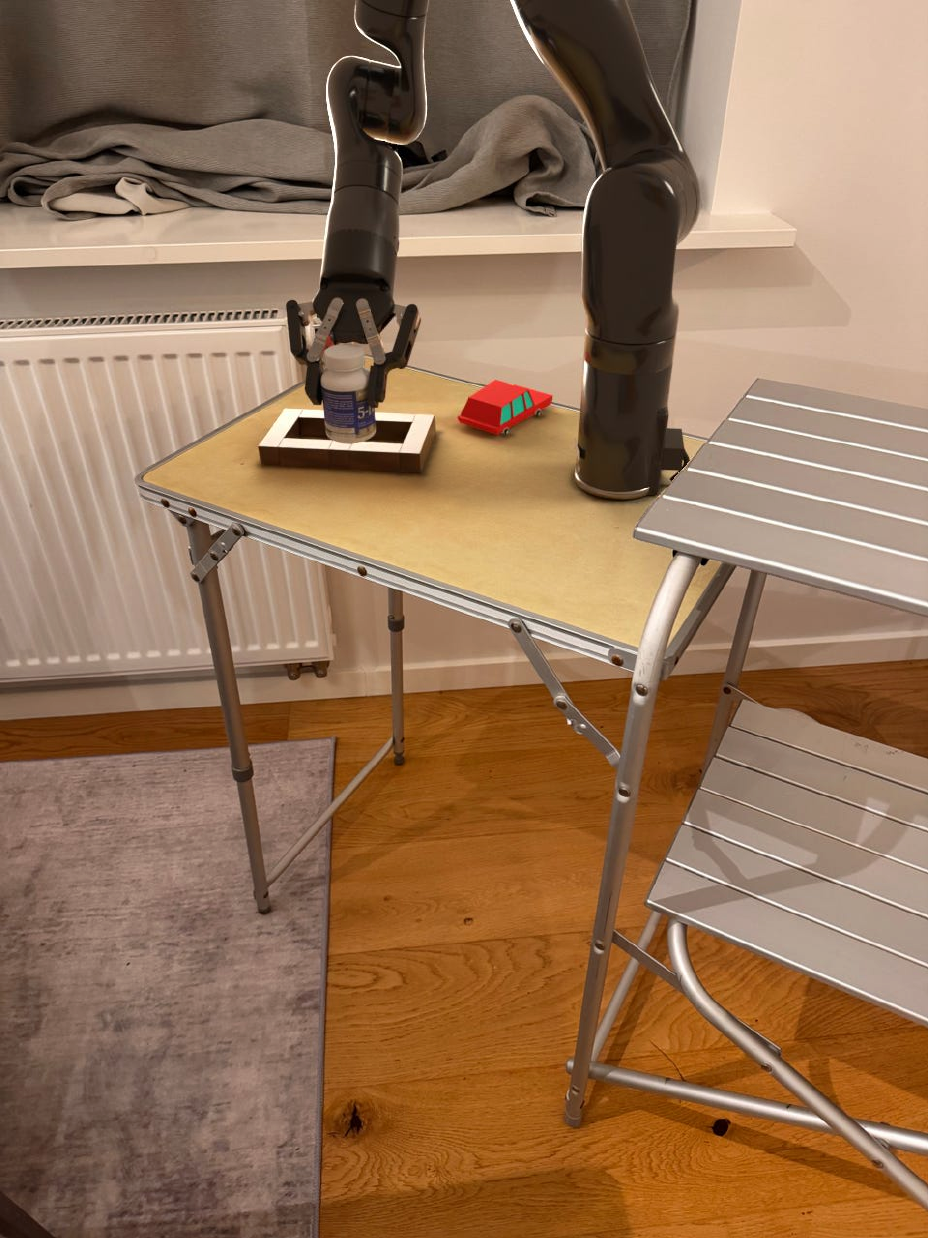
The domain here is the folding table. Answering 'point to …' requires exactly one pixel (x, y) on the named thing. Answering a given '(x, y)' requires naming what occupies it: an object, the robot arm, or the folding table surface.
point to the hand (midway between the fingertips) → (344, 403)
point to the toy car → (502, 406)
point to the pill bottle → (346, 395)
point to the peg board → (371, 456)
